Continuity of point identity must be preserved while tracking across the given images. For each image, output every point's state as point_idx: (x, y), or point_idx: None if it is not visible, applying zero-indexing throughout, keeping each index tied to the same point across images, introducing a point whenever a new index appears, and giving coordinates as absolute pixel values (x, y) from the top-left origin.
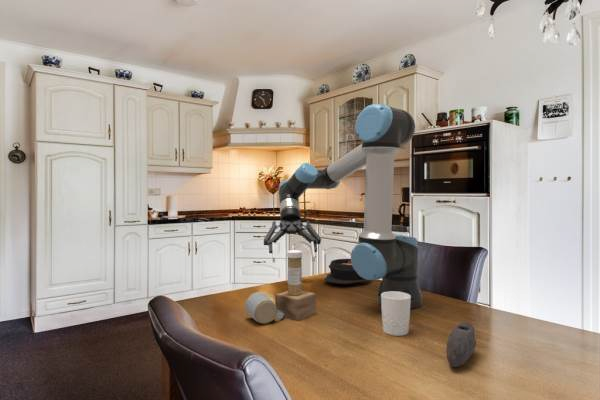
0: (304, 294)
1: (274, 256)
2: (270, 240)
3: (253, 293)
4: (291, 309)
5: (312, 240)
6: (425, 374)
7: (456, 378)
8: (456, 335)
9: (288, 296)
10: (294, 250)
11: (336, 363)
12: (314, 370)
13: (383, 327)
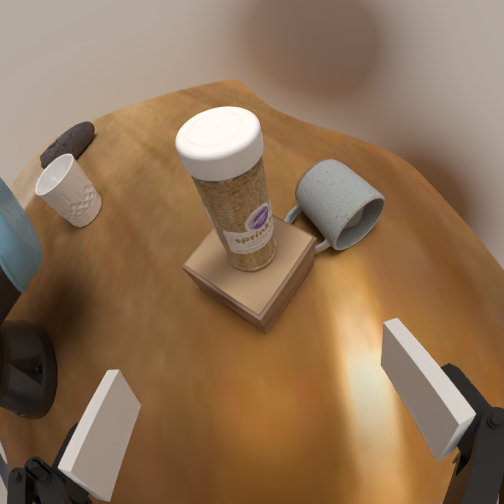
0: (218, 248)
1: (391, 326)
2: (501, 420)
3: (374, 194)
4: None
5: (59, 482)
6: (119, 124)
7: (101, 127)
8: (70, 129)
9: None
10: (216, 138)
11: (193, 114)
12: (219, 101)
13: (98, 200)
